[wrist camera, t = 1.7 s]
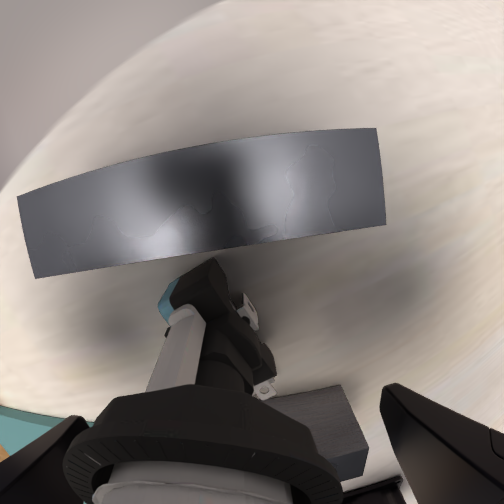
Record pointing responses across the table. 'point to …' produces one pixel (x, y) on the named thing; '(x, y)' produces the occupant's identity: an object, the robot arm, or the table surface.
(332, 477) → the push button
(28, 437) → the teal rubber mat
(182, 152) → the grey slab pair
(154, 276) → the table surface
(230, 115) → the table surface
